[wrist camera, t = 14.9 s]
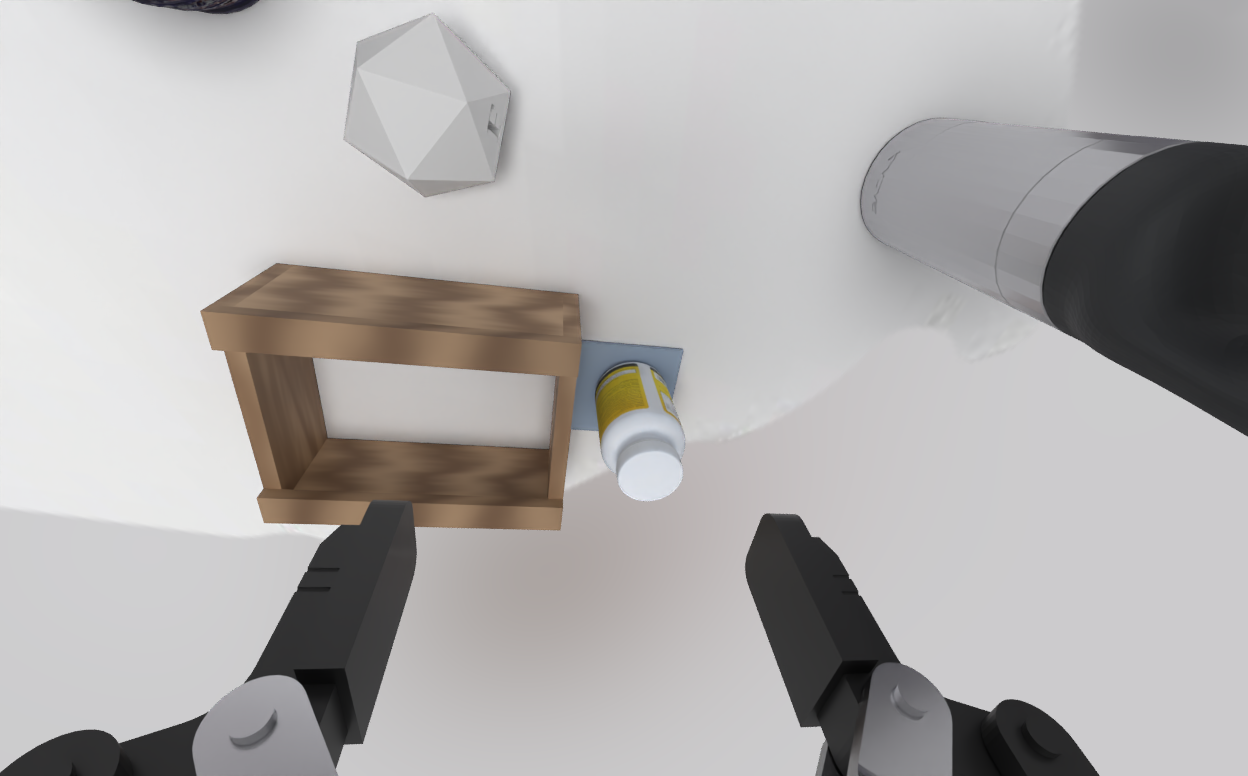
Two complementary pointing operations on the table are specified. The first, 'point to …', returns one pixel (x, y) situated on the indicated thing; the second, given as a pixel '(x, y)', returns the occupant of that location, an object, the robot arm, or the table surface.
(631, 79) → the table surface
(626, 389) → the pill bottle
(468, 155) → the die
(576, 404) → the pad
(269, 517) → the crate
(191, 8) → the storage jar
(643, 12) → the table surface
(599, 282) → the table surface
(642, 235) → the table surface
